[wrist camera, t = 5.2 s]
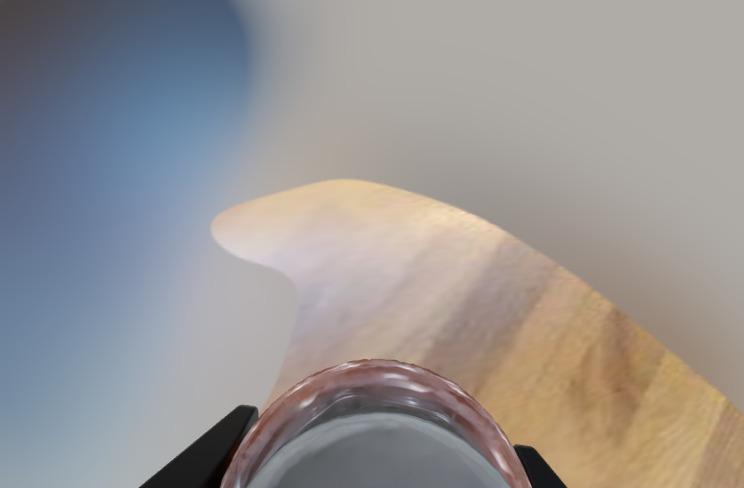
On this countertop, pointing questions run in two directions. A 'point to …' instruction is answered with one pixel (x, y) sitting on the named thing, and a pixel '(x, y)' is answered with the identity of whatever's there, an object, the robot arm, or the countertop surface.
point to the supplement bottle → (375, 434)
